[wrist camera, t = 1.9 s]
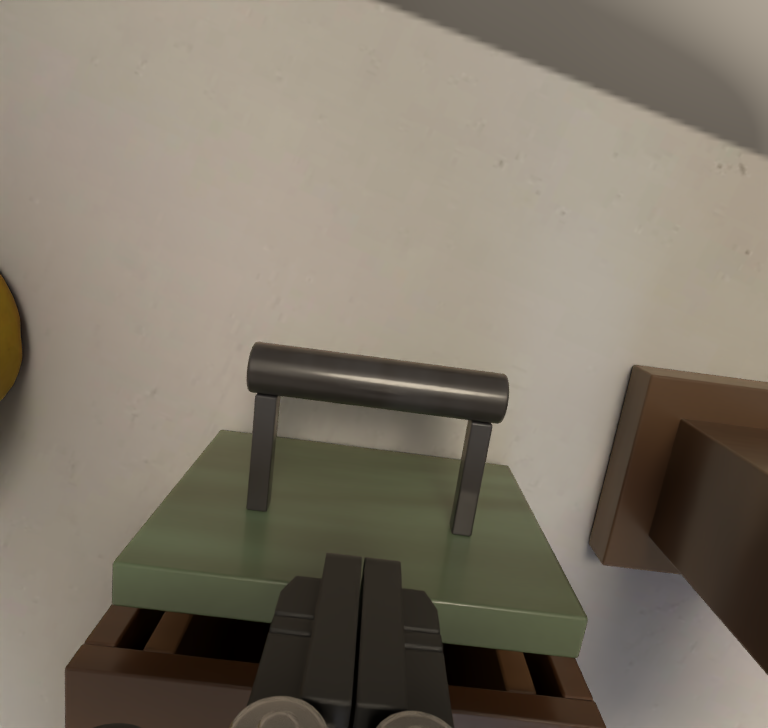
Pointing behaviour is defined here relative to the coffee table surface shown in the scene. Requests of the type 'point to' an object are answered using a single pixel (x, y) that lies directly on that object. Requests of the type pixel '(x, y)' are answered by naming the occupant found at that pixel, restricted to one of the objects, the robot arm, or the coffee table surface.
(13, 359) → the mug
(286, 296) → the coffee table surface
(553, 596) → the drawer
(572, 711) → the cabinet
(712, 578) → the stand
